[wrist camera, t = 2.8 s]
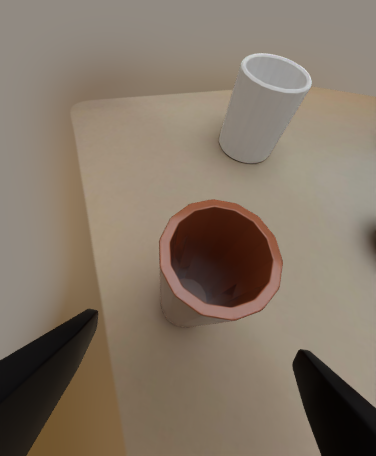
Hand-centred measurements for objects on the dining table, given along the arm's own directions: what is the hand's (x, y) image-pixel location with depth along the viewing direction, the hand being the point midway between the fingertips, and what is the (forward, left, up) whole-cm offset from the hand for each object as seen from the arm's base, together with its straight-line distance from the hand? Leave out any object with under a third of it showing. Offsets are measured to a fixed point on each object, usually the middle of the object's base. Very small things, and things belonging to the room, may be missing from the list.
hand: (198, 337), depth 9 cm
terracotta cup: (+3, +1, -10) cm, 10 cm away
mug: (+29, +7, -10) cm, 31 cm away
